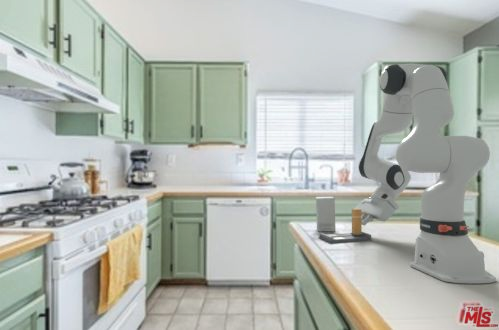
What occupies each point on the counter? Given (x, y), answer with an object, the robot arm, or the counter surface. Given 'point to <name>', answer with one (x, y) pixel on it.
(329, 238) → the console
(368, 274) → the counter surface
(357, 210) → the tan tall block
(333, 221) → the skincare box
